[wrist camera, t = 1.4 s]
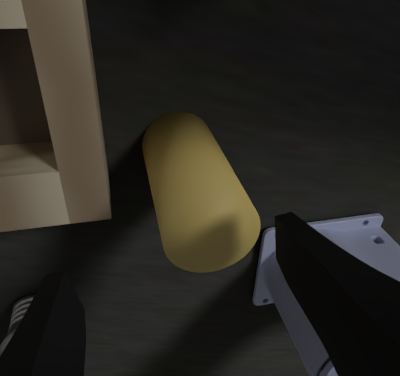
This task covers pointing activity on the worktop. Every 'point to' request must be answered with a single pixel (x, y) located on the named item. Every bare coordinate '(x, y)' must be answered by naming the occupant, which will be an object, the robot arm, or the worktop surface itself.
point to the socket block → (49, 118)
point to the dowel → (196, 195)
